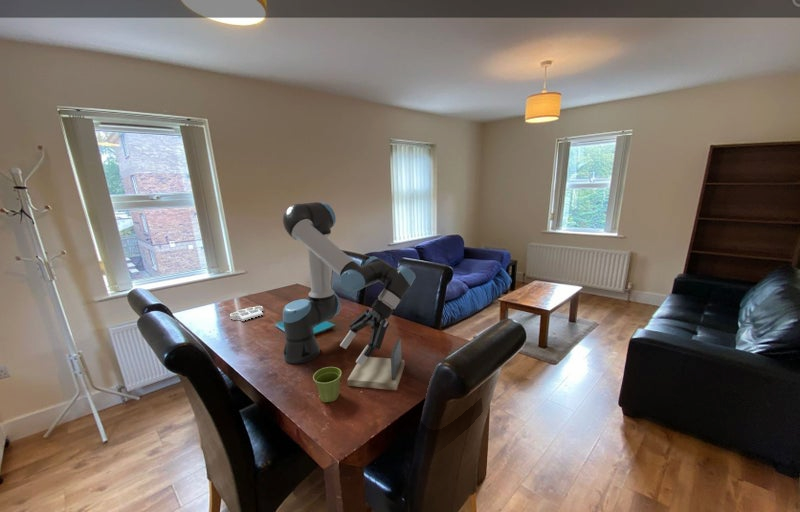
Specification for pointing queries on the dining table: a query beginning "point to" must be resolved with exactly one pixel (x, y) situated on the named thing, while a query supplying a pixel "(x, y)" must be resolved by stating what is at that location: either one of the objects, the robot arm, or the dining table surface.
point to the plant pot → (328, 383)
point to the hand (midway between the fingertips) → (350, 355)
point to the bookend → (396, 359)
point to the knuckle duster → (247, 313)
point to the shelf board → (375, 374)
